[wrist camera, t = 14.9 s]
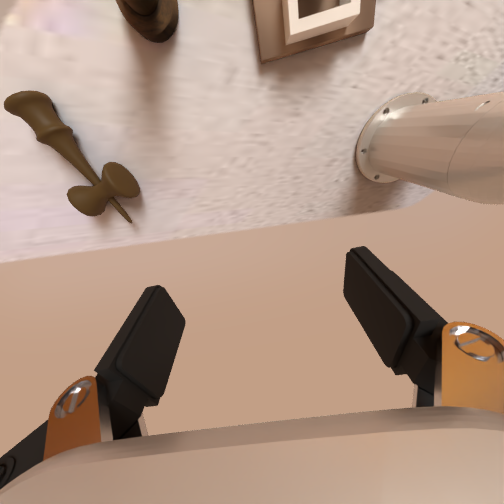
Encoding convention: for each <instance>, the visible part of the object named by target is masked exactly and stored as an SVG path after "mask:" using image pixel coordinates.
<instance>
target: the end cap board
mask: <svg viewBox="0 0 504 504" xmlns="http://www.w3.org/2000/svg"><path fill="white" fill-rule="evenodd" d="M252 1H253V9H254V16H255V23H256V30H257V37H258V44H259V51H260V59H261V64H263V63H266V62H270V61H273V60H276V59H280V58H283V57H286V56H290V55H293V54H296V53H299V52H303V51H306V50H309V49H313V48H316V47H319V46H323V45H326V44H329V43H333V42H336V41H339V40H343V39H346V38H349V37H353V36H356V35H359V34H362V33H366V32H368V31H369V30H370V29H371V28H372V27H373V26H374V15H375V4H376V0H361V1H360V14H359V15H358V16H357V17H356V18H355V19H354V20H353V21H352V22H351V23H350V24H349V25H348V26H347V27H344V28H341V29H338V30H334V31H331V32H328V33H325V34H321V35H318V36H315V37H312V38H308V39H305V40H302V41H299V42H295V43H292V44H289V45H286V43H285V31H284V19H283V7H282V0H252ZM339 2H340V0H298V17H299V19H301V18H304V17H307V16H310V15H313V14H316V13H319V12H323V11H326V10H329V9H332V8H335V7H338V6H339Z"/></svg>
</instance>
